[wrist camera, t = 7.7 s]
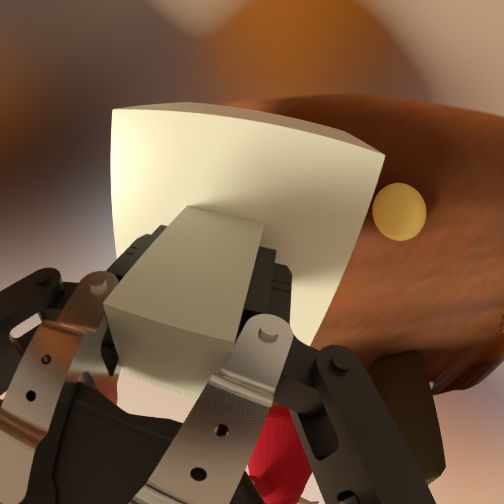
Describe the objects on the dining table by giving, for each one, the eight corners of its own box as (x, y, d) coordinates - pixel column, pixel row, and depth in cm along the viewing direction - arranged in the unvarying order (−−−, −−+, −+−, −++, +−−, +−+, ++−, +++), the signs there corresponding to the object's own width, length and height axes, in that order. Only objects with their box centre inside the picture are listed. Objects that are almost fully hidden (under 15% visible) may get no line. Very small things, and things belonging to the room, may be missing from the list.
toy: (209, 313, 34) (124, 548, 8) (287, 287, 30) (242, 595, 4) (293, 408, 44) (274, 556, 19) (350, 396, 40) (347, 557, 15)
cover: (344, 131, 16) (479, 227, 3) (305, 264, 22) (302, 453, 9) (188, 102, 16) (-10, 141, 4) (176, 235, 22) (72, 385, 9)
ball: (420, 185, 22) (443, 204, 17) (403, 230, 24) (420, 257, 20) (376, 169, 22) (393, 185, 18) (359, 218, 25) (371, 243, 20)
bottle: (420, 346, 32) (452, 507, 11) (410, 396, 39) (423, 515, 18) (369, 358, 34) (381, 527, 13) (370, 405, 42) (374, 526, 20)
